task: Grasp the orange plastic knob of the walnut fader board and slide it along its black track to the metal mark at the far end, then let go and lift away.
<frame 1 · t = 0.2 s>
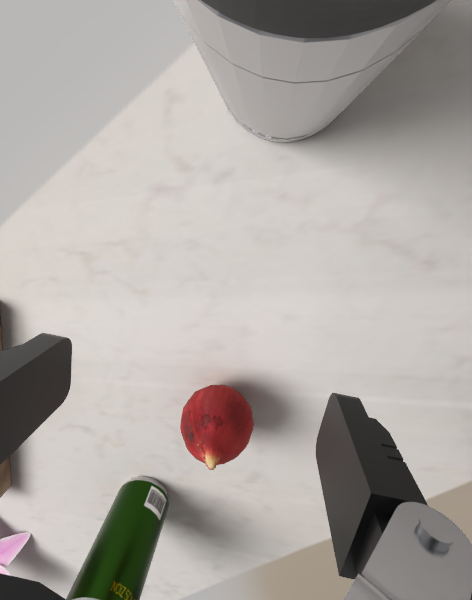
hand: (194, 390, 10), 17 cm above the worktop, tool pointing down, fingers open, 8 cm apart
onion: (223, 394, 31), on the worktop
green soda can: (146, 492, 36), on the worktop
lily: (0, 534, 40), on the worktop
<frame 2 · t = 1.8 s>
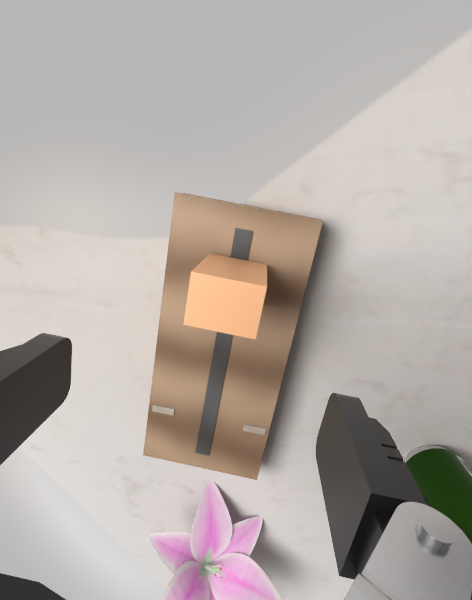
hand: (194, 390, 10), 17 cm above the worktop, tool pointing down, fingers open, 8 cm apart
green soda can: (428, 465, 30), on the worktop
fader base: (224, 340, 28), on the worktop
lily: (220, 520, 34), on the worktop
fader knob: (230, 291, 20), point 6 cm above the worktop, slide at 2.0 cm
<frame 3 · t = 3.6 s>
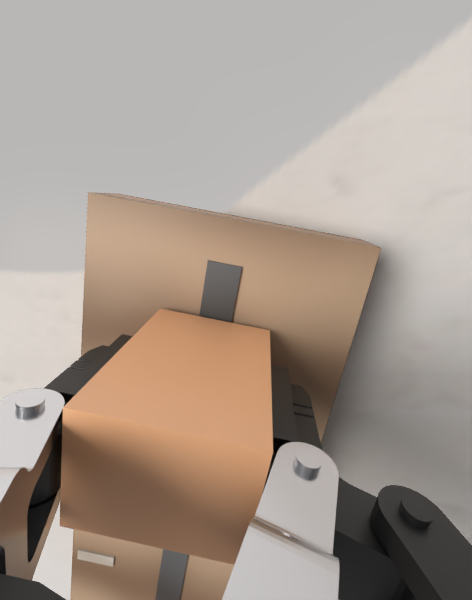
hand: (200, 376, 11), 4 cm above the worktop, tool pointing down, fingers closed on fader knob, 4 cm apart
fader base: (199, 437, 17), on the worktop
fader knob: (190, 403, 9), point 6 cm above the worktop, slide at 2.0 cm, touching gripper
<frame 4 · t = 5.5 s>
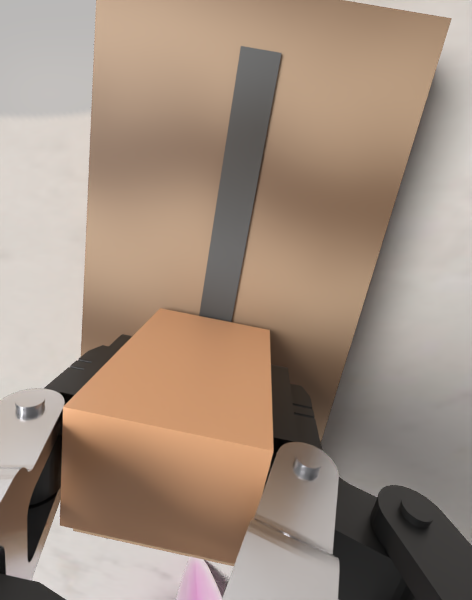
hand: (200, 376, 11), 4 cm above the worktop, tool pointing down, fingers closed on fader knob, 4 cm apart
fader base: (219, 321, 15), on the worktop
fader knob: (190, 403, 9), point 6 cm above the worktop, slide at 8.4 cm, touching gripper
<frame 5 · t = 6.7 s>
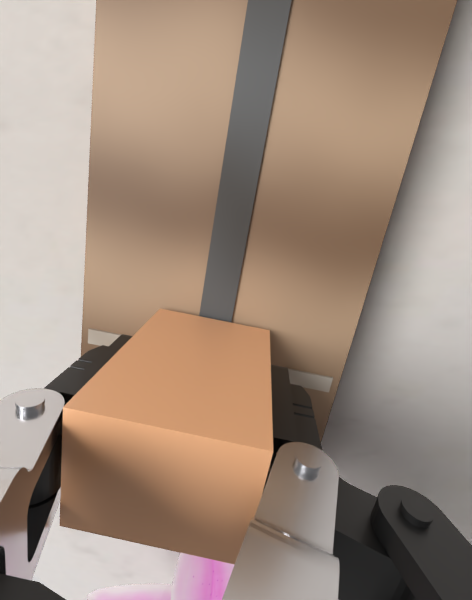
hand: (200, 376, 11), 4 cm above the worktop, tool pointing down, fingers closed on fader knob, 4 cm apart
fader base: (241, 198, 13), on the worktop
lily: (229, 550, 19), on the worktop
fader knob: (190, 403, 9), point 6 cm above the worktop, slide at 13.7 cm, touching gripper
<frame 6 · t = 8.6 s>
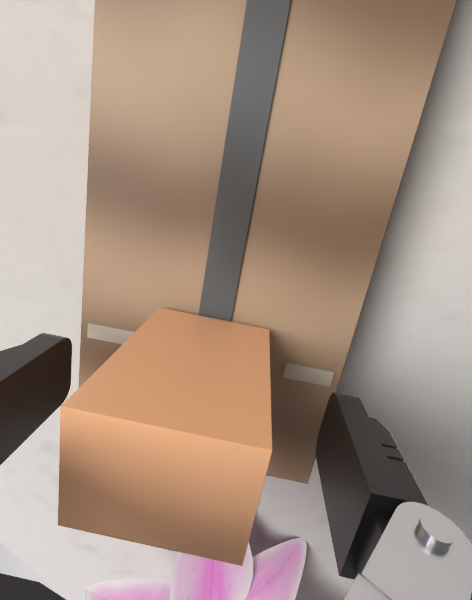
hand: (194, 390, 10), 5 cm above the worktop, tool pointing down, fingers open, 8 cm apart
fader base: (242, 191, 13), on the worktop
lily: (229, 545, 19), on the worktop
fader knob: (189, 402, 9), point 6 cm above the worktop, slide at 14.0 cm
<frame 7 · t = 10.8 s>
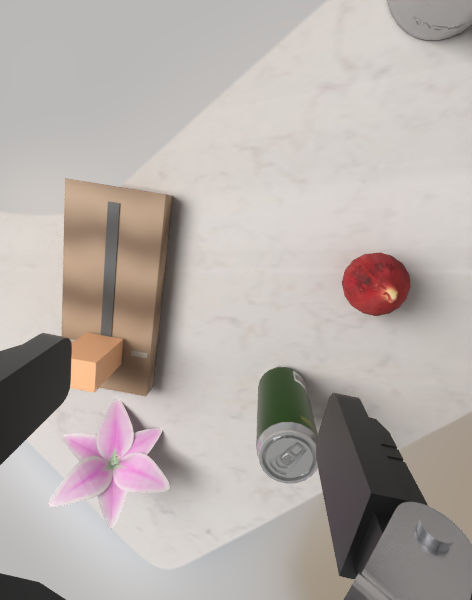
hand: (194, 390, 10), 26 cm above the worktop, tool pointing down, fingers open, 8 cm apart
onion: (363, 276, 35), on the worktop
green soda can: (281, 384, 39), on the worktop
fader base: (118, 290, 37), on the worktop
lily: (131, 435, 42), on the worktop
fader knob: (90, 360, 33), point 6 cm above the worktop, slide at 14.0 cm
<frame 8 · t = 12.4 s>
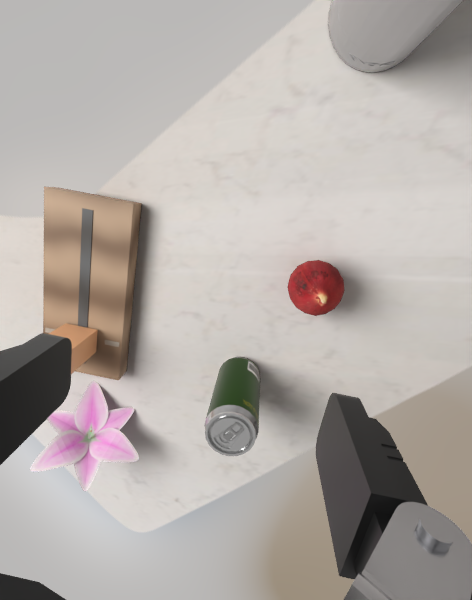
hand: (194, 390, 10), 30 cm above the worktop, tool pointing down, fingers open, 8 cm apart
onion: (310, 279, 39), on the worktop
green soda can: (239, 372, 44), on the worktop
fader base: (94, 285, 42), on the worktop
lily: (107, 413, 48), on the worktop
fader knob: (67, 348, 38), point 6 cm above the worktop, slide at 14.0 cm
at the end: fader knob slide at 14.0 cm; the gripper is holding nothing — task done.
